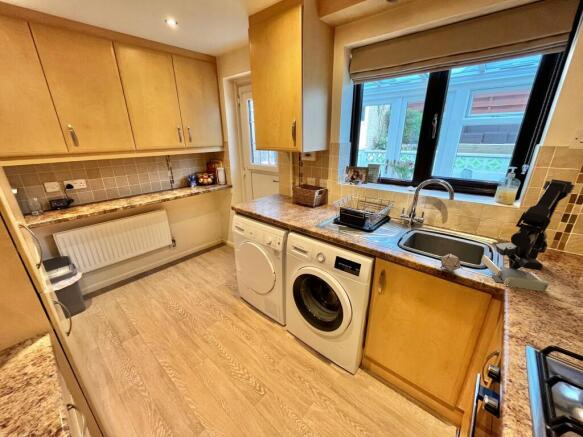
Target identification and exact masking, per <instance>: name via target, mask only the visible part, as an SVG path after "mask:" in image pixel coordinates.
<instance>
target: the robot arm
mask: <svg viewBox="0 0 583 437" xmlns="http://www.w3.org/2000/svg"><path fill="white" fill-rule="evenodd" d="M575 186H576V185H575V184H573V181H568V180H562V179H553V178H551V180H550V181H549V180H545V183H544V185H543V187H542V190H544V192H543V194H541V196H540V198H539V199H538V201H537V203H536V204H535V205H532V206H529V207H528V209H526V211H524V212H523V213H522V214H521V215H520V218H519V220H518V221H517V223H516V225H515V227H516V228H519V230H517V231H516V232H515V233H514V234H512V235H511V237H510V242H508V241H507V242H506V241H500V242H498V243H496V245H495V251H496V252H497V253H499V255H500V256H502V257H503V256H506V257H507V258H508V266H509V267H508V268H511V269H516V270H517V269H519V268H520V267H523V269H526V270H534V271H542V269H543V267H544V265H543V263H541V262H540V261H539V260H537V258H538V255H539V253H540V254H542V253H544V254H545V252H546V251H547V249H548V241H547V239H548V234H547V232H546V230H547V229H548V227H549V226H550V223H551V222H552V220H551V219H552V217H553V216H554V214H555V212H556V209H557V207H558V205H559V203H560V202H561V201H562V200H563V199H565V198H567V197H568V196H569V194H572V193H573V191H574V190H575Z"/></svg>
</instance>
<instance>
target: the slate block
mask: <svg viewBox="0 0 583 437" xmlns="http://www.w3.org/2000/svg"><path fill="white" fill-rule="evenodd" d="M499 268H500V269H501V270H502V273H501V275H500V277H501V278H502V280H503V282H504V281H505V279H506V277H508V276H509V277H516V278H524V279H528V278H527V276H526V275H525V274H524V273H523V272H522V271H523V270H522V271H521V270H516V269H511V268H509V267H506V266H500V267H499ZM500 277H499V278H500ZM501 278H500V279H501Z"/></svg>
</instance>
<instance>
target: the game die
mask: <svg viewBox="0 0 583 437" xmlns="http://www.w3.org/2000/svg"><path fill="white" fill-rule="evenodd" d="M438 259H440V263H441V266H440V269H441V268H443V269H445V270H447V271H448V272H449V273H450V274H452V272H454V271H456V270H458V269H459V270H460V269H463V266H461V260H460V259H462V257H461V256H459V257H458V256H456V255H454V254H452V253H451V251H449V252H448V254H446V255H444V256H438Z"/></svg>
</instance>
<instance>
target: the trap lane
mask: <svg viewBox="0 0 583 437" xmlns="http://www.w3.org/2000/svg"><path fill="white" fill-rule="evenodd" d="M481 262H482V263H483V264H484V265H485V266H486V267H487V268H488V269H489V270H490V271H491V272H492V274H494V273H495V274H496V275H497V276H498V277H499V276H500V275H501V273H502V270H501V269H500V267H499V266H498V265H497V264H495V263H494V262H493V261H492V260H491V259H490V257H488V256H487V255H484V254H483V255H482V258H481ZM523 269H524V268H523V267H520V268H519V269H517V270H521V271H523ZM527 272H528V274H527V276H526V277H527V278H528V279H532V280H540V281H543V280H542V279H541V278H540V277H538V276H537V274H534V273H533V272H532V271H527ZM495 274H494V275H495ZM507 278H508V277H506V279H505V281H504V283H505V284H506V281H507ZM508 282H509V280H508V281H507V284H508ZM504 283H503V284H504ZM505 284H504V285H505ZM509 284H511V283H509ZM544 286H545V287H543V288H548V286H549V285H544ZM546 290H547V289H545V290H544V289H543V291H542V292H546Z"/></svg>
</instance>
